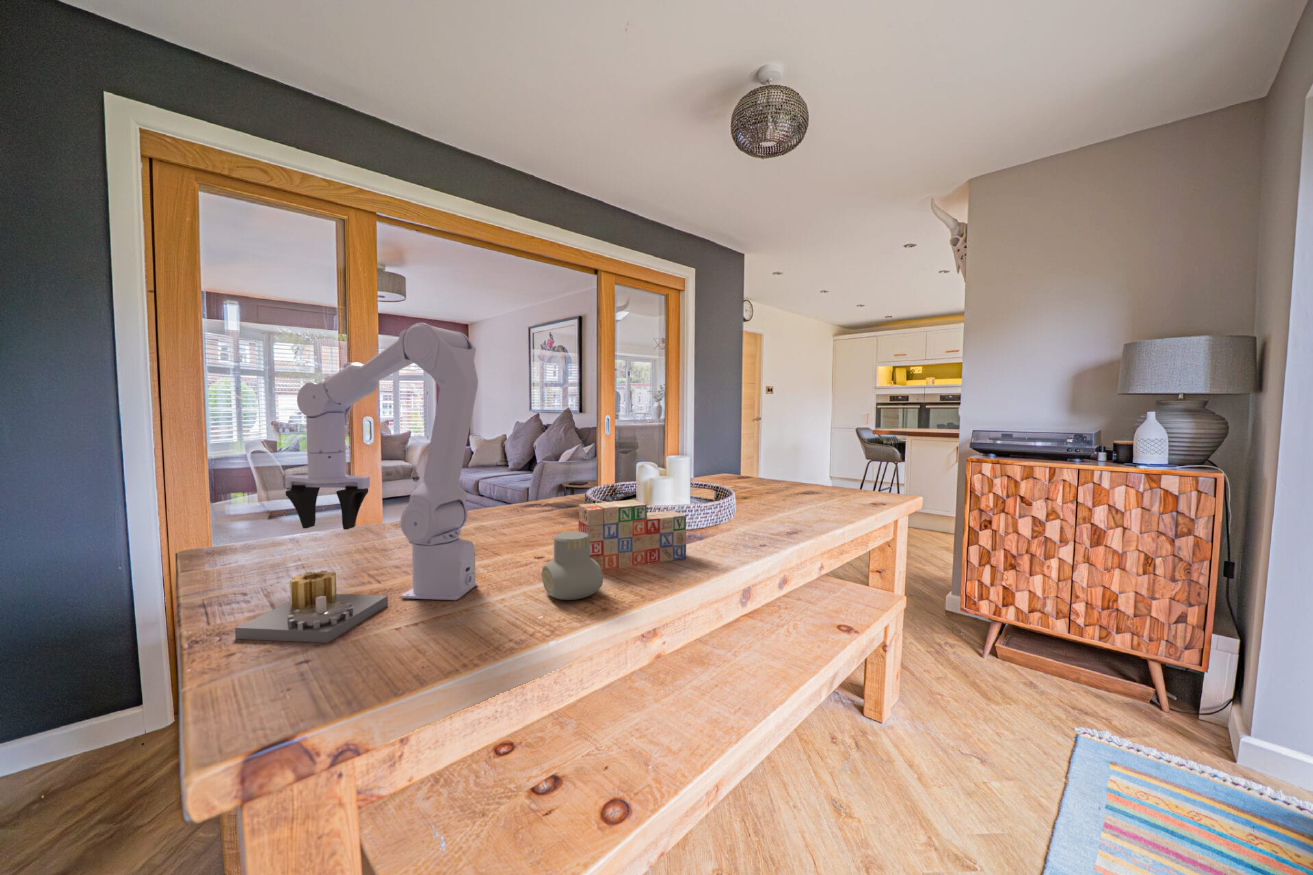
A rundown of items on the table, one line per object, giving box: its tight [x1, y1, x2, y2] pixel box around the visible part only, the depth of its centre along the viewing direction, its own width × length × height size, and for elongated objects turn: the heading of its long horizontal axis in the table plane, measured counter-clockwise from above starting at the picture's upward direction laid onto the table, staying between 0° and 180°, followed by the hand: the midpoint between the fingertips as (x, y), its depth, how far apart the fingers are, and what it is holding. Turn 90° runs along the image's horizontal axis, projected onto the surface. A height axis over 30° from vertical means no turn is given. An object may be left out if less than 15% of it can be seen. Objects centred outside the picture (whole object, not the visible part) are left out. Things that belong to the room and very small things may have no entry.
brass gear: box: [289, 570, 337, 610], centre depth 76 cm, size 6×6×4 cm
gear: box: [287, 601, 353, 631], centre depth 70 cm, size 8×8×1 cm
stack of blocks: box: [578, 499, 687, 571], centre depth 103 cm, size 21×6×12 cm, turn 115°
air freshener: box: [541, 531, 604, 601], centre depth 85 cm, size 11×8×10 cm
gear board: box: [234, 593, 389, 644], centre depth 73 cm, size 13×13×4 cm
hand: (328, 527), depth 91 cm, fingers open, 7 cm apart
